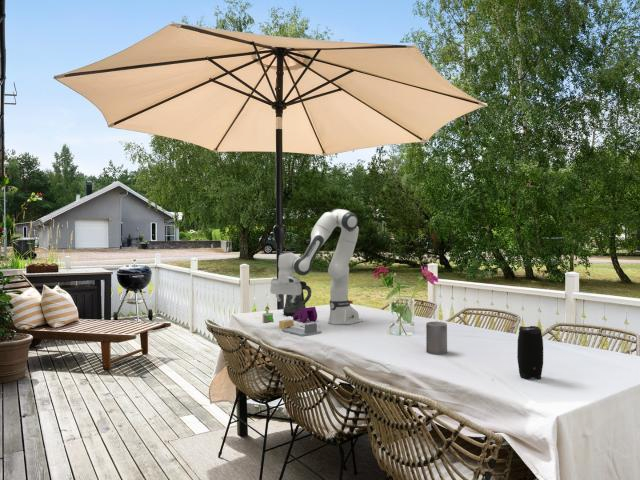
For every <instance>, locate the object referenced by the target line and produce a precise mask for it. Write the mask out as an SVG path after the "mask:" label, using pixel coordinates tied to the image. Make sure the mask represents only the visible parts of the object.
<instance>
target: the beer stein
mask: <svg viewBox="0 0 640 480" xmlns="http://www.w3.org/2000/svg"><path fill="white" fill-rule="evenodd" d="M299 283H300V284H301V290H302V292H301V295H296V297H295V299H294V303H291V300H292V298H293V297H292V295H286V296H285V297H286V298H285V303H284V307H283V310H282V312H283V316H284V315H285V316H284V317H288V316H291V317H290V318H293V315H294V314H295V313H296V312H298V311H299V310H301V309H302V308H307V307H306V304H307V303H308V301H309V300H310V299H311V297H312V289H311V287H310V286H309V285H307V282H306V281H304V280H303V281H302V280H300V282H299ZM304 290H306V291H307V296H306V297H305V295H304Z"/></svg>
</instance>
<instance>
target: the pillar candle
mask: <svg viewBox="0 0 640 480" xmlns="http://www.w3.org/2000/svg"><path fill="white" fill-rule="evenodd" d="M425 325H426V327H425V328H426V330H425V333H426V337H425V340H426V341H425V344H426V347H425V348H426V350H425V351H426V352H425V353H427V354H431V355H438V356H439V355H445V354H447V353H448V323H446V322H444V321H437V320H436V321H429V322H426V324H425Z"/></svg>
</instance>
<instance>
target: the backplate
mask: <svg viewBox="0 0 640 480" xmlns="http://www.w3.org/2000/svg"><path fill="white" fill-rule="evenodd" d="M281 332H284V333H288V334H290V335H295V336H297V337H298V336H299V337H307V336H313V335H319V334H322V333H323V331H322V330H318V326H317V323H316V322H312V323H305V324H304V325H303V326H302V325H301V326H297V325H294V326H291V328H288V327H286V329H281Z"/></svg>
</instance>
